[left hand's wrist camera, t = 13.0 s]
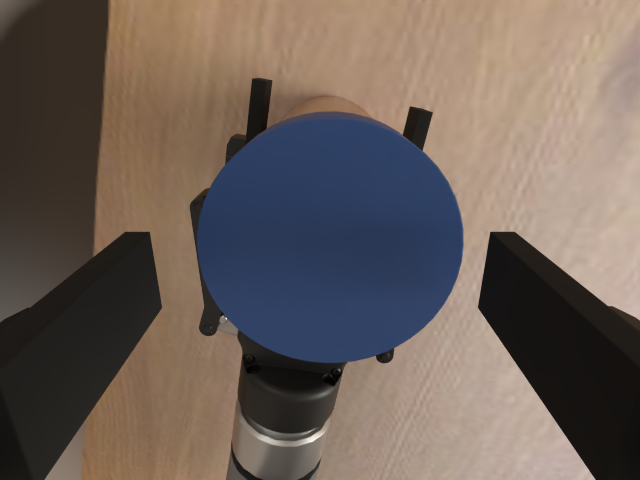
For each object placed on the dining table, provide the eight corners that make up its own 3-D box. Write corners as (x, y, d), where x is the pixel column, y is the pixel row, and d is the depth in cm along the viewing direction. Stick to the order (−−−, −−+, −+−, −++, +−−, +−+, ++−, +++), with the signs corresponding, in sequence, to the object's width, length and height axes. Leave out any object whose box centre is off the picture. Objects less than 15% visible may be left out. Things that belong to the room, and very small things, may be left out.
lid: (207, 104, 14) (186, 109, 12) (464, 117, 14) (489, 125, 12) (219, 323, 18) (204, 357, 16) (426, 333, 18) (440, 368, 16)
